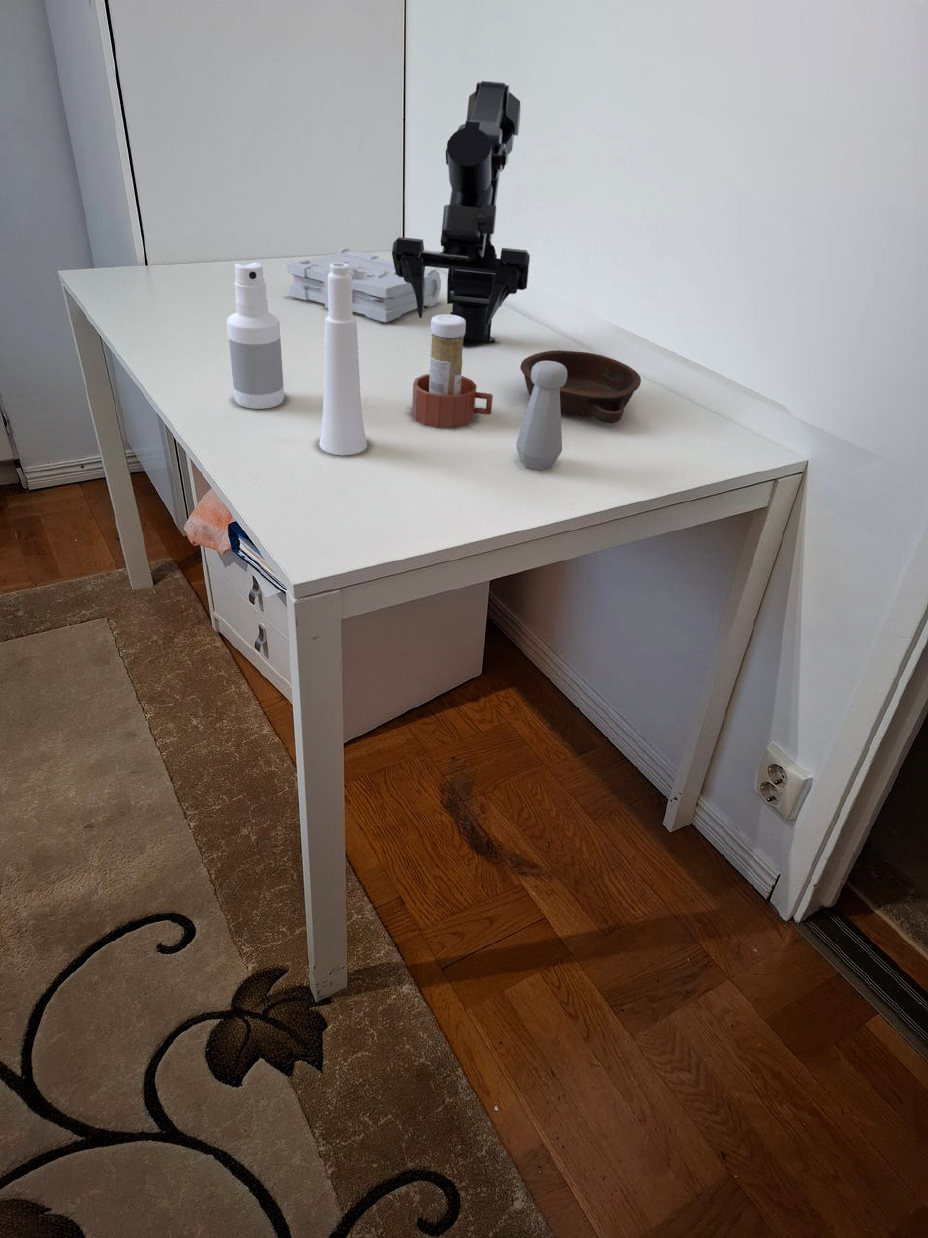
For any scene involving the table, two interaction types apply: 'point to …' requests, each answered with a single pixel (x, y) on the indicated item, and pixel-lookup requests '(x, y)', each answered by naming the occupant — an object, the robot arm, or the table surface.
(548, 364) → the salt shaker
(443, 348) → the sprinkles bottle
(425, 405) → the cup
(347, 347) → the cosmetic bottle
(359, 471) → the table surface
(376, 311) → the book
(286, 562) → the table surface
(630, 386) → the dish
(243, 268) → the spray bottle
